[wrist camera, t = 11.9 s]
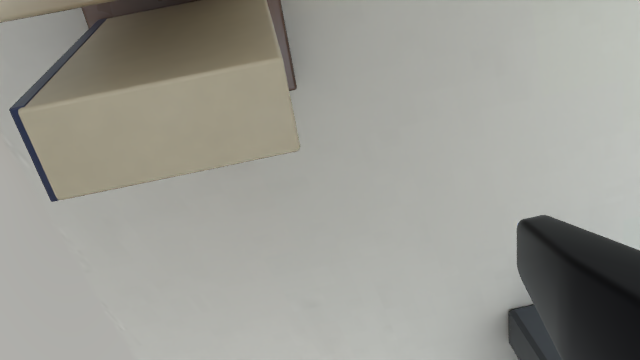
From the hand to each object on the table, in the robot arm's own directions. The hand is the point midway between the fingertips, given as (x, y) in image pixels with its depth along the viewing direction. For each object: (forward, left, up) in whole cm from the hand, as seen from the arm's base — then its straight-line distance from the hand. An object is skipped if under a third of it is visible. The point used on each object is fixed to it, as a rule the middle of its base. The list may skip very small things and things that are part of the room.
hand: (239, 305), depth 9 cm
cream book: (-1, +2, -12) cm, 12 cm away
